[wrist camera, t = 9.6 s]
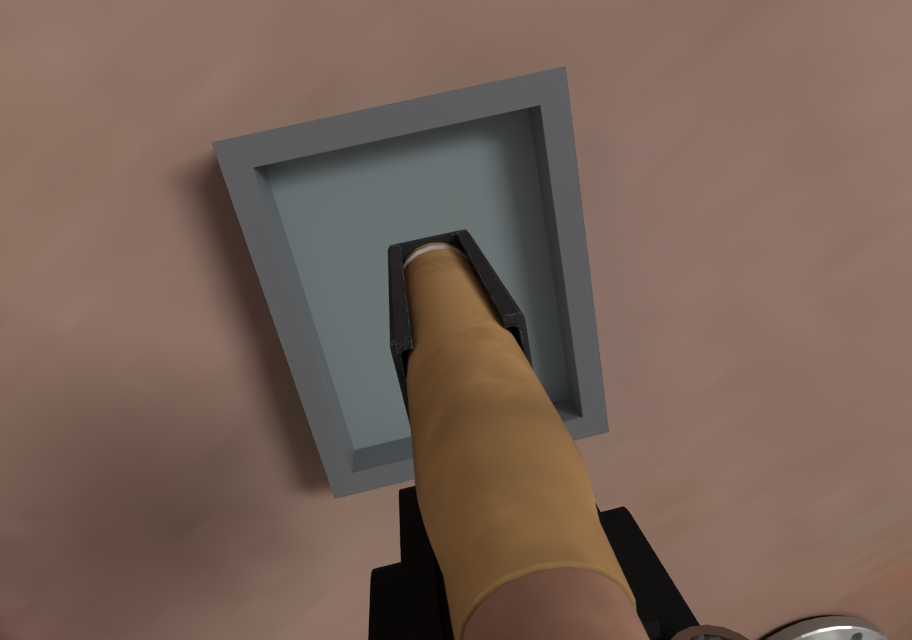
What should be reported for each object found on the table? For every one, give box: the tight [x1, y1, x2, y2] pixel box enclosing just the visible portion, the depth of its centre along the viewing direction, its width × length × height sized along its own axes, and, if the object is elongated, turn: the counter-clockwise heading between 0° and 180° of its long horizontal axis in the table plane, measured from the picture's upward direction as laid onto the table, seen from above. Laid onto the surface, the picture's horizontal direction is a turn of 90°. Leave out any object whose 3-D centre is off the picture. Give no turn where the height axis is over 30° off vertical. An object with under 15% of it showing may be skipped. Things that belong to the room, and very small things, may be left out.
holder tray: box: [212, 66, 609, 498], centre depth 25 cm, size 14×17×3 cm
